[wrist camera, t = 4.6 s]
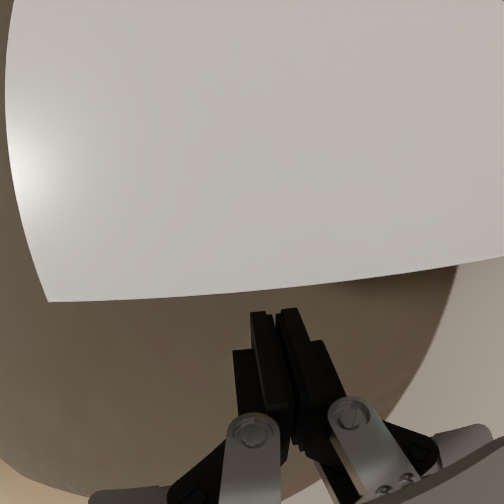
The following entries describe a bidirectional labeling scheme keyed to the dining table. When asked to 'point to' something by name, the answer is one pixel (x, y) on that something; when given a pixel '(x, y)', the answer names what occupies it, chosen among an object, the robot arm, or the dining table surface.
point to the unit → (253, 141)
